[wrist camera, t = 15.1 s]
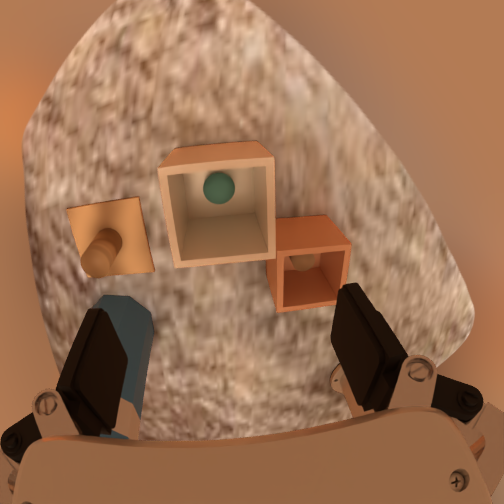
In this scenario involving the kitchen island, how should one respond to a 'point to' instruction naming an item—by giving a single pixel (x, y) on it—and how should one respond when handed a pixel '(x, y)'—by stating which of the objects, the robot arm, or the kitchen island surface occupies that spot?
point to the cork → (302, 261)
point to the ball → (218, 188)
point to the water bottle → (130, 359)
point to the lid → (111, 238)
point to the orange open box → (319, 275)
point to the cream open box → (219, 215)
